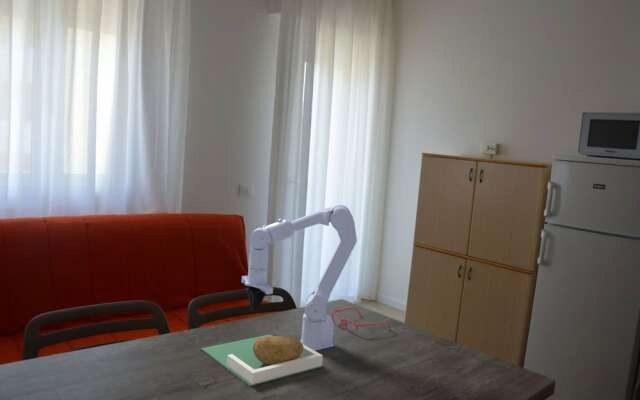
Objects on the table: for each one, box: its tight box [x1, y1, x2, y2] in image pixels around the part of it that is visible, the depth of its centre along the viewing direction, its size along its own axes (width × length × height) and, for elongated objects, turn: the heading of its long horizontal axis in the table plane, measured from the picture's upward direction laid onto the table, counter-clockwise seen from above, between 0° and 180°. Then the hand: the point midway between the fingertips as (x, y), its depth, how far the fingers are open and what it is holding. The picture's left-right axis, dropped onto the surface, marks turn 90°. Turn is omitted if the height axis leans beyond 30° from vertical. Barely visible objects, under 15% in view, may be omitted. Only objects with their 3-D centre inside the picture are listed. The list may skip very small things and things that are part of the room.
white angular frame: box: [227, 345, 324, 384], centre depth 146 cm, size 23×13×3 cm, turn 130°
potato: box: [253, 335, 304, 366], centre depth 146 cm, size 10×14×8 cm
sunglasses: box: [330, 307, 391, 335], centre depth 184 cm, size 17×16×5 cm
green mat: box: [200, 334, 324, 387], centre depth 151 cm, size 24×26×1 cm
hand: (255, 310), depth 163 cm, fingers closed
